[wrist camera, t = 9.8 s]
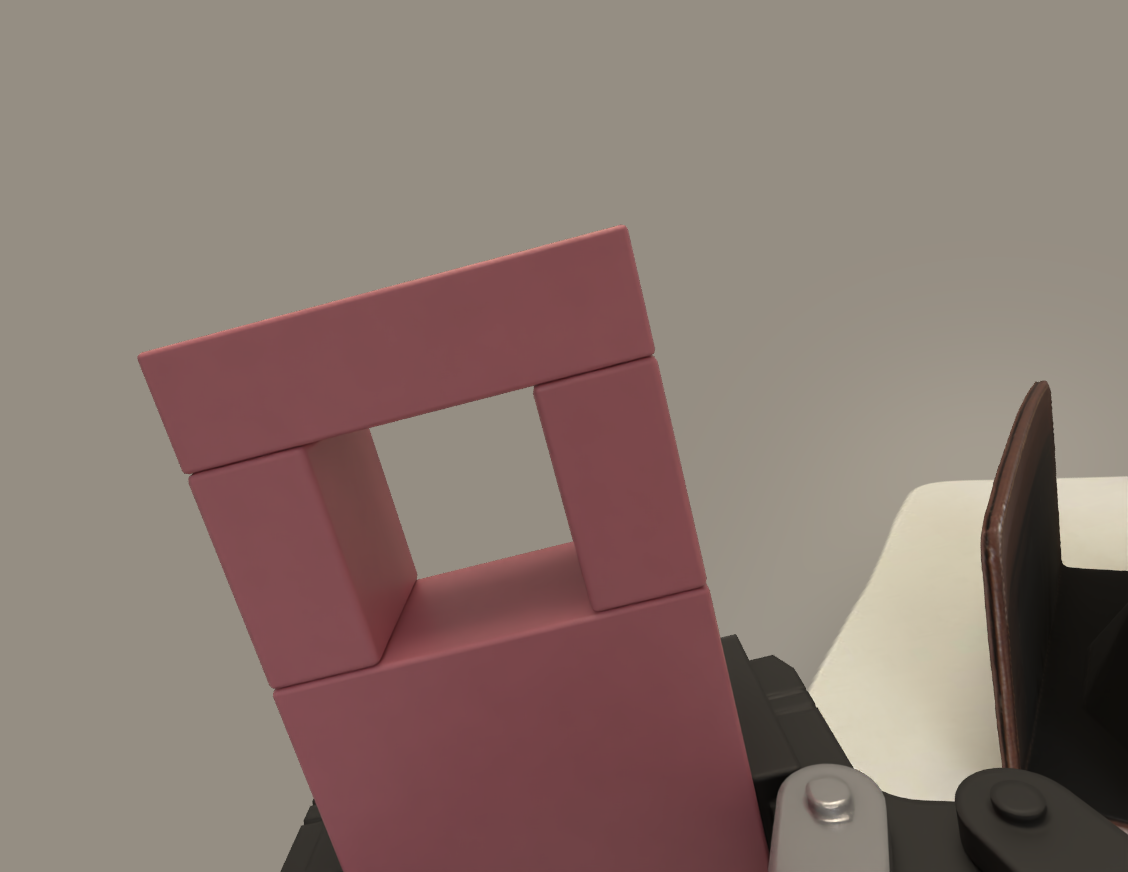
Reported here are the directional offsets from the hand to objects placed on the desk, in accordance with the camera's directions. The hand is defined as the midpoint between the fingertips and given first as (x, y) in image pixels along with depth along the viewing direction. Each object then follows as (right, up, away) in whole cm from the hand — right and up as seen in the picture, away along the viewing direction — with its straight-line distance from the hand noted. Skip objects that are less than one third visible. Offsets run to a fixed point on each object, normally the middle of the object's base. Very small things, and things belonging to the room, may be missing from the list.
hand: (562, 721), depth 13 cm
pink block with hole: (+2, -8, -1) cm, 8 cm away
